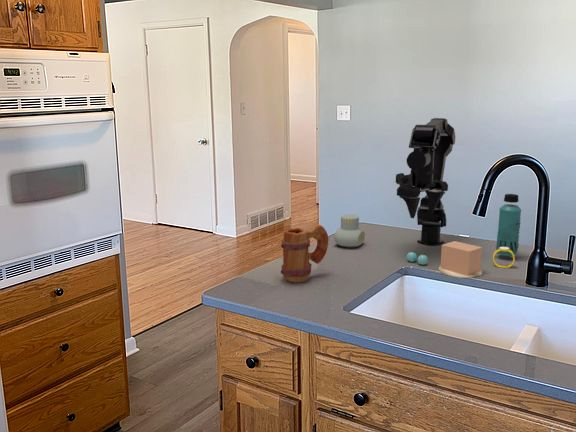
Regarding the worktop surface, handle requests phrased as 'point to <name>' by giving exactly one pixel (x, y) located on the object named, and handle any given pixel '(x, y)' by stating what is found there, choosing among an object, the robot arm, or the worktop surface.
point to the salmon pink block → (461, 258)
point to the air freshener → (349, 232)
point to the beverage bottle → (509, 226)
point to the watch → (503, 250)
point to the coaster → (458, 275)
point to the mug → (302, 252)
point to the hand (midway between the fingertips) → (421, 215)
